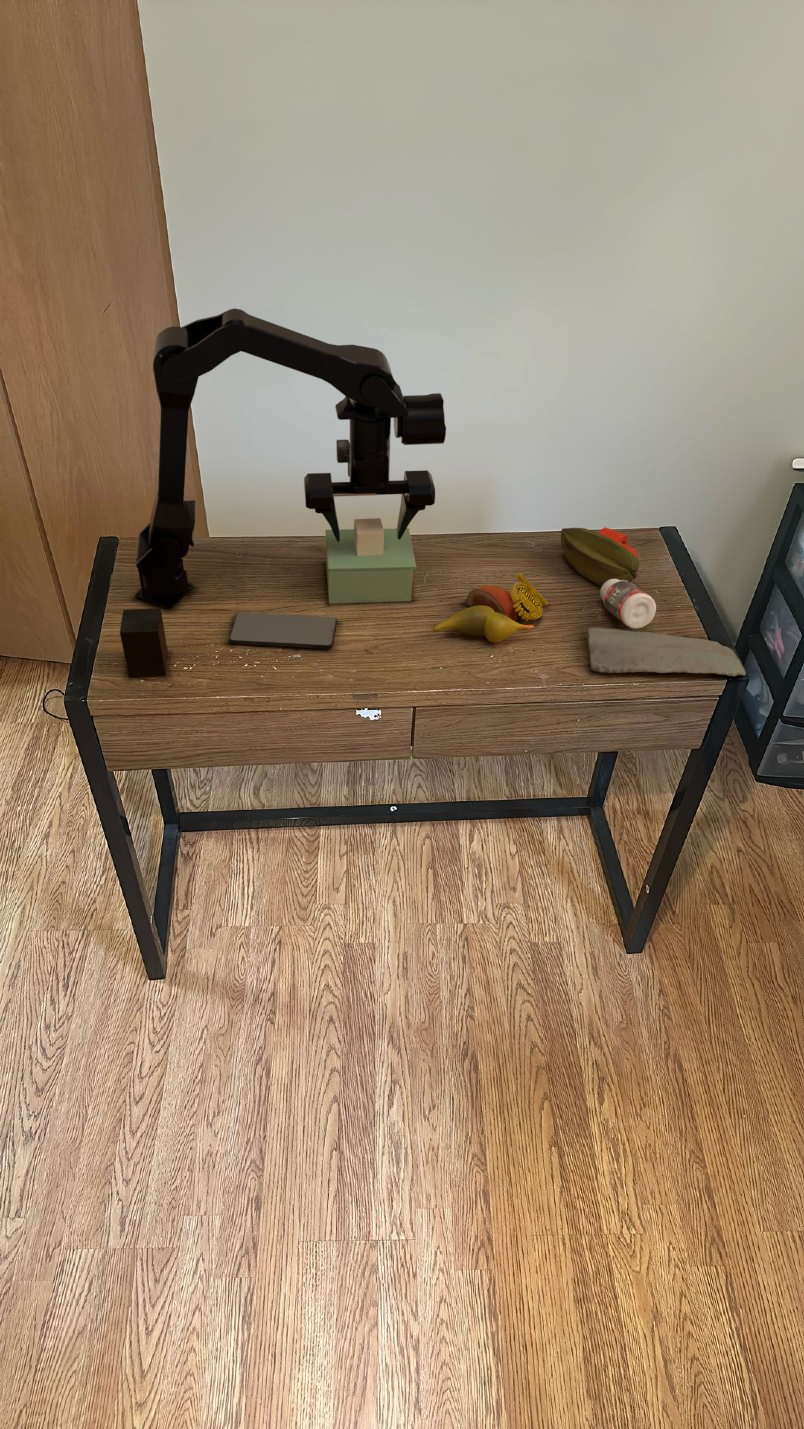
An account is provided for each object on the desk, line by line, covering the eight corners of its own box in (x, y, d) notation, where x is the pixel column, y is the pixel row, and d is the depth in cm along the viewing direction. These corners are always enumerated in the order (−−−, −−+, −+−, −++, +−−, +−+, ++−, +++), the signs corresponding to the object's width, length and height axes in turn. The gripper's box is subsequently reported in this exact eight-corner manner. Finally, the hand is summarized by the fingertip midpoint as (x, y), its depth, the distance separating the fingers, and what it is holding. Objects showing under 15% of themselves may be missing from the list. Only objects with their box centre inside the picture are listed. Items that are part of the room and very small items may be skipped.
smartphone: (236, 611, 144) (337, 616, 143) (237, 616, 144) (337, 621, 144) (228, 640, 139) (332, 645, 138) (228, 645, 139) (332, 650, 139)
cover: (408, 531, 152) (408, 528, 152) (416, 570, 145) (416, 566, 144) (325, 532, 151) (325, 529, 151) (328, 572, 143) (328, 568, 143)
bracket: (573, 527, 158) (588, 515, 161) (569, 547, 161) (584, 535, 164) (636, 553, 154) (650, 540, 157) (631, 573, 156) (645, 559, 159)
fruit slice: (489, 583, 151) (472, 610, 151) (473, 568, 145) (455, 596, 145) (531, 607, 147) (513, 635, 147) (517, 593, 141) (498, 622, 141)
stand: (129, 677, 133) (119, 632, 128) (132, 654, 137) (123, 609, 131) (166, 676, 134) (158, 630, 128) (168, 653, 137) (160, 608, 132)
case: (404, 562, 156) (405, 531, 152) (411, 601, 149) (412, 570, 145) (326, 564, 155) (325, 533, 151) (329, 603, 147) (328, 572, 143)
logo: (548, 602, 149) (537, 628, 143) (544, 605, 149) (533, 631, 143) (519, 571, 147) (507, 596, 141) (516, 574, 148) (504, 599, 142)
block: (357, 556, 146) (357, 533, 143) (353, 541, 148) (354, 519, 146) (383, 555, 146) (384, 532, 143) (379, 540, 149) (380, 517, 146)
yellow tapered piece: (523, 622, 146) (535, 645, 141) (426, 628, 144) (435, 651, 139) (526, 597, 144) (539, 619, 139) (428, 602, 141) (437, 625, 136)
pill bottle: (617, 608, 140) (590, 587, 148) (631, 636, 142) (604, 614, 151) (648, 587, 139) (619, 567, 148) (662, 616, 142) (633, 594, 151)
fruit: (597, 594, 160) (572, 603, 156) (575, 525, 159) (549, 532, 155) (652, 577, 151) (626, 585, 147) (629, 503, 150) (602, 510, 146)
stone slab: (581, 637, 145) (590, 673, 137) (584, 621, 143) (594, 657, 135) (728, 648, 145) (746, 684, 137) (733, 632, 144) (751, 668, 136)
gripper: (427, 416, 142) (422, 509, 153) (300, 419, 140) (304, 512, 151) (438, 453, 134) (432, 548, 145) (304, 456, 132) (307, 552, 143)
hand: (368, 539), depth 146 cm, fingers open, 9 cm apart
